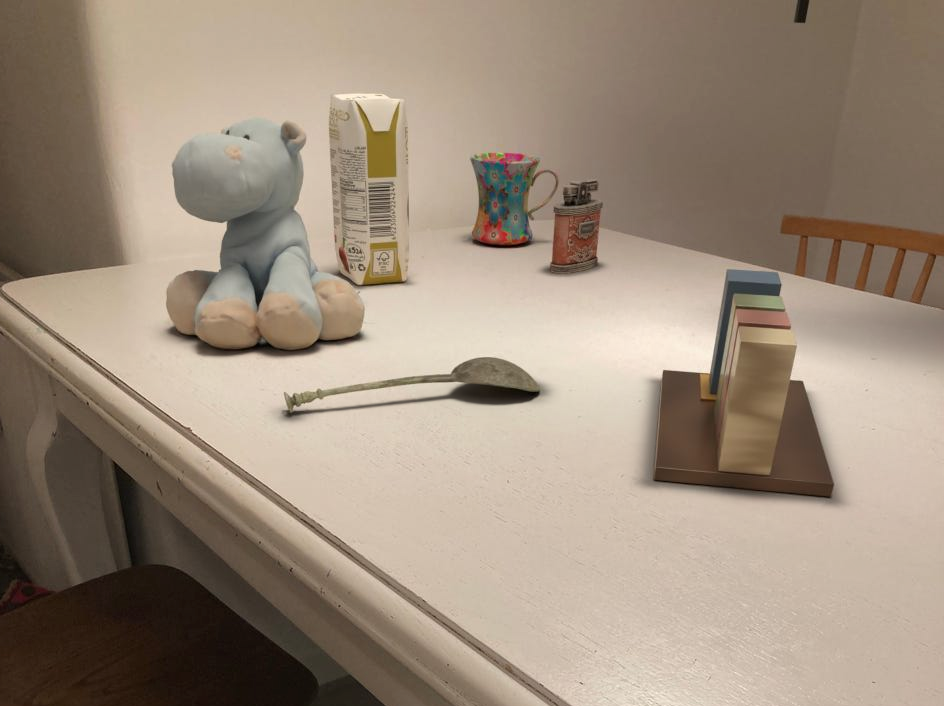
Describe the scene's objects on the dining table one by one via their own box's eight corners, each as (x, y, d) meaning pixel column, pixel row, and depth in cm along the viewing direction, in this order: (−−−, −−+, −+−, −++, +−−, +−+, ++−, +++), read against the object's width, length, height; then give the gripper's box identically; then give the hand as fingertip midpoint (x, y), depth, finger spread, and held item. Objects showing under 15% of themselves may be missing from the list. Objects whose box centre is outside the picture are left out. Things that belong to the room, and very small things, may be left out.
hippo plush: (135, 336, 93) (98, 123, 83) (293, 289, 109) (278, 106, 99) (275, 372, 85) (254, 140, 75) (424, 316, 101) (423, 118, 91)
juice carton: (354, 288, 111) (346, 99, 100) (331, 271, 117) (322, 93, 107) (415, 283, 113) (413, 98, 103) (389, 267, 120) (385, 92, 109)
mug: (467, 247, 130) (468, 161, 124) (469, 234, 138) (471, 151, 132) (555, 250, 130) (561, 163, 124) (553, 236, 137) (558, 154, 132)
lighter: (565, 274, 118) (571, 186, 113) (543, 270, 120) (548, 182, 115) (603, 264, 123) (611, 179, 118) (582, 260, 125) (589, 175, 120)
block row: (800, 391, 84) (827, 271, 78) (831, 497, 66) (868, 351, 60) (661, 380, 85) (677, 262, 80) (653, 480, 67) (673, 336, 62)
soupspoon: (552, 407, 81) (522, 386, 86) (555, 367, 79) (524, 348, 85) (292, 424, 74) (277, 400, 80) (290, 381, 73) (275, 359, 78)
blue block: (756, 382, 82) (777, 272, 77) (759, 398, 78) (781, 283, 73) (709, 378, 82) (726, 268, 77) (709, 394, 79) (728, 280, 74)
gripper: (1110, -298, 74) (1018, 27, 86) (778, -291, 78) (732, 20, 90) (1148, -326, 68) (1043, 29, 80) (785, -316, 72) (736, 21, 84)
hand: (878, 25), depth 85 cm, fingers open, 13 cm apart
